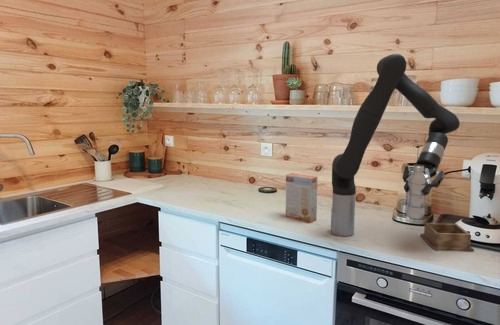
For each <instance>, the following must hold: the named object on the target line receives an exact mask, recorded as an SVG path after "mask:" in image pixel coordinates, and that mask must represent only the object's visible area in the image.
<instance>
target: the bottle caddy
mask: <svg viewBox="0 0 500 325" xmlns="http://www.w3.org/2000/svg"><path fill="white" fill-rule="evenodd" d="M423 227H424V229H423V233H420V235H419V236H420V237H421V239H422V240H423V241H424V242H425V243H426V244H427V245H428V246H429V247H430V248H431V249H432V251H446V252H448V251H450V252H452V251H453V252H470V253H471V252H475V249H474V248H473V247H472V246H471V238H472V234H470V233H469V232H468V231H467V230H465V229H463V227H461V226H460V225H458V224H457V223H441V222H440V223H433V222H425V223H424V226H423Z"/></svg>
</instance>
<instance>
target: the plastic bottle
mask: <svg viewBox="0 0 500 325" xmlns="http://www.w3.org/2000/svg"><path fill="white" fill-rule="evenodd" d="M412 168H413V171H414V172H413V171H412V172H411V173H410V174H409V179H408V185H409V191H408V198H407V204H406V206H405V216H406V217H407V218H408V219H412V220H423V218H425V196H424V194H423V191H424V189H425V186H426V184H428V183H427V178H426V176H425V174H424V173H423V171H424V166H423V165H416V164H413V166H412Z"/></svg>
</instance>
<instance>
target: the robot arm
mask: <svg viewBox="0 0 500 325" xmlns="http://www.w3.org/2000/svg"><path fill="white" fill-rule="evenodd" d="M406 70H407V60H406V58H405V57H404V56H403V55H402V54H399V53H392V54H389V55H387V56H384V57H383V58H381V59H380V60H379V61H378V62H377V65H376V72H377V73H376V74H378V78H377V79H376V82H375V84H374V87H373V88H372V90H371V91H370V92H369V94H368V95H367V96H366V98H365V99H364V101H363V102H362V104H360V107H359V109H358V110H357V114H356V116H355V117H354V120H353V123H352V126H351V132H350V135H349V141H348V143H347V145H346V147H345V150H343V151H344V152H342V153H339V154H338V155H336V156H335V157H334V158H333V161H332V165H331V185H332V187H331V188H332V198H331V199H332V203H331V205H332V206H331V209H330V212H331V214H330V232H331V235H334V236H335V235H336V236H340V237H350V236H353V235H354V234H355V212H356V196H357V194H356V193H357V192H356V189H357V187H356V183H355V176H356V174H358V173H359V169H360V167H361V164H362V161H363V158H364V155H365V153H366V150H367V148H368V146H369V144H370V142H371V140H372V138H373V137H374V134H375V132H376V130H377V128H378V127H379V124H380V122H381V121H382V117H383V115H384V113H385V111H386V109H387V106H388V104H389V102H390V99H391V97H392V95H393V93H394V91H395V89H396V90H397V91H398V92H399V93H400V94H401V95H403V97H404V98H405V99H406V100H407V101H408V102H409V103H410V104H411V105H412V106H413V108H415V109H416V110H417V111H418V113H419V114H420V115H421V116H422V117H423V118H425V119H433V120H432V121H431V123H430V124H429V128H428V135H427V136H428V137H427V140H426V142H425V144H424V145H423V147H422V149H421V151H420V153H419V156H418V157H417V161H416V162H415V165H423V166H424V171H423V173H424V174H425V176H426V178H427V184H426V186H425V189H424V191H423V194H424V197H425V196H428V195H429V194H430V192H431V189H432V188H436V189H437V188H439V186H440V184H441V183H442V181H443V180H444V177H445V173H444V171H443V170H440V171H439V170H438V168H439V166H440V164H441V163H442V160H443V157H444V153H445V150H446V148H447V145H448V142H449V137H448V136H447V134H450V133H451V132H455V131H457V130H458V128H459V127H460V120H459V117H458V116H457V115H456V114H455V113H453V112H452V111H450V110H449V109H447V108H445V107H444V106H442V105H441V104H439V103H438V101H436V99H434V97H432V95H431V94H430V93H428V91H426V90H425V89H424V88H422V87H421V86H419V85H418V84H417V83H416V82H414V81H413V80H411V78H410V77H408V75H406V73H405V72H406ZM413 172H414V171H413V167H409V166H408V165H406V166H405V168H404V170H403V174H402V180H403V182H404V185H403V189H404V191H405V193H409V185H408V179H409V176H410V175H411V174H412V173H413ZM435 176H436V177H435ZM433 177H435V179H434V180H433V181H432V178H433Z"/></svg>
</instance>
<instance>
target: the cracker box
mask: <svg viewBox="0 0 500 325" xmlns="http://www.w3.org/2000/svg"><path fill="white" fill-rule="evenodd" d="M317 206H318V176H316V175H307V174H301V173H288V174H285V218H289V217H290V219H293V218H294V219H293V220H298V221H303V222H307V223H312V222H315V221H317V216H318V215H317V212H318V210H317V209H318V207H317Z"/></svg>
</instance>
